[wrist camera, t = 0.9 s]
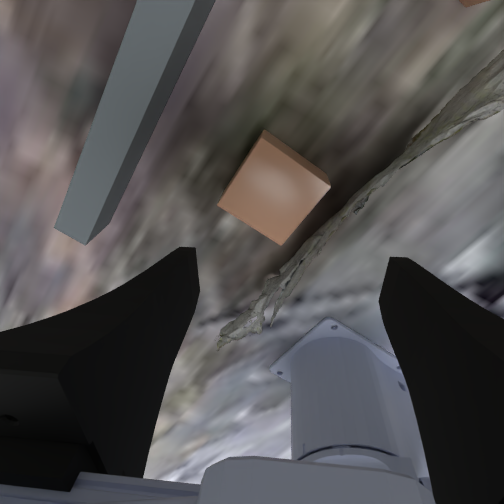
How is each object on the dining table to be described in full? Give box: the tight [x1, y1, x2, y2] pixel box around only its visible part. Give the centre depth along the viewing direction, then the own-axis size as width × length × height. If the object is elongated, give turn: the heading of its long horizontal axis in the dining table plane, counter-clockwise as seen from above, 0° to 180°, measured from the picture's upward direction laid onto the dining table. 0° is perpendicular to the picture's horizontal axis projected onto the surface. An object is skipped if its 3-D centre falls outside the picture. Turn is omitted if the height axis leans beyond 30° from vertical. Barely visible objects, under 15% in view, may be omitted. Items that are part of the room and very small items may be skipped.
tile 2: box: [217, 129, 331, 246], centre depth 19 cm, size 4×4×2 cm
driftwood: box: [215, 50, 504, 351], centre depth 15 cm, size 37×2×5 cm, turn 144°
